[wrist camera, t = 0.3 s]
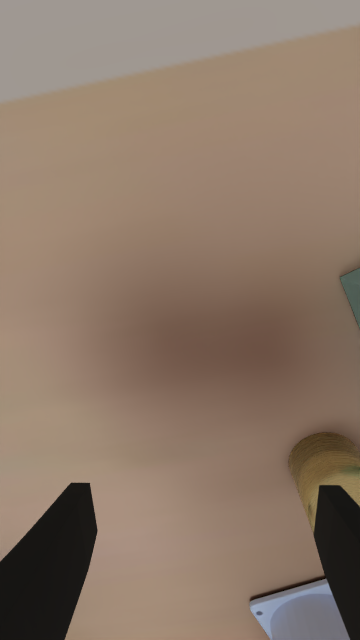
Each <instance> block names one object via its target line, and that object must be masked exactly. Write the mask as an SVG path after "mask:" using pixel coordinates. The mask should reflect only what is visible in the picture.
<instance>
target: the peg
mask: <svg viewBox="0 0 360 640" xmlns="http://www.w3.org/2000/svg"><path fill="white" fill-rule="evenodd" d="M289 468H290V471H291V474H292V477H293V479H294V482H295V485H296V488H297V490H298V493H299V496H300V498H301V501H302V504H303V506H304V509H305V512H306V515H307V517H308V520H309V523H310V525H311V528H312V531H313V533H314V526H315V518H316V509H317V500H318V492H319V485H340V486H341V487H342V488H343V489H344V490H345V491H346V492H347V493H348V494H349V495H350V496H351V497H352V499H353V500H354V501H355V502H356V503H357V504H358V505H359V506H360V453H359V451H358V450H357V448H356V447H355V445H354V444H353V443H352V442H351V441H350V440H349V439H347V438H346V437H344V436H342V435H339V434H335V433H318V434H314V435H311V436H308V437H306V438H305V439H303V440H301V441H300V442H299V443H298V444H297V445H296V446H295V447H294V448H293V450H292V451H291V454H290V457H289Z"/></svg>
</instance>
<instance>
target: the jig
mask: <svg viewBox="0 0 360 640" xmlns="http://www.w3.org/2000/svg"><path fill="white" fill-rule="evenodd" d="M340 280H341V282H342V285H343V287H344V290H345V292H346V295H347V297H348V300H349V302H350V305H351V308H352V310H353V313H354V315H355V318H356V320H357V323H358V325H359V328H360V268H358V269H356V270H354V271H352V272H350V273H348V274H346V275H344V276H342V277H340Z"/></svg>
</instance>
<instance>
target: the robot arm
mask: <svg viewBox="0 0 360 640" xmlns="http://www.w3.org/2000/svg"><path fill="white" fill-rule="evenodd" d="M96 535H97V525H96V519H95V512H94V506H93V500H92V494H91V488H90V483H71V484H70V485H69V486H68V487H67V488H66V489H65V490H64V491H63V492H62V494H61V495H60V496H59V497H58V498H57V499H56V501H55V502H54V503H53V504H52V505H51V506H50V508H49V509H48V510H47V511H46V512H45V513H44V514H43V516H42V517H41V518H40V519H39V520H38V521H37V522H36V524H35V525H34V526H33V527H32V528H31V529H30V530H29V531H28V532H27V534H26V535H25V536H24V537H23V538H22V539H21V540H20V541H19V542H18V544H17V545H16V546H15V547H14V548H13V549H12V550H11V551H10V552H9V553H8V554H7V555H6V556H5V557H4V558H3V559H2V560H1V561H0V640H65V637H66V634H67V631H68V628H69V625H70V622H71V619H72V616H73V613H74V610H75V608H76V605H77V602H78V599H79V596H80V593H81V590H82V587H83V584H84V581H85V578H86V575H87V572H88V569H89V565H90V561H91V557H92V553H93V548H94V544H95V540H96ZM314 538H315V542H316V546H317V549H318V553H319V557H320V560H321V563H322V567H323V570H324V574H325V576H326V579H323V580H320V581H316V582H313V583H310V584H306V585H303V586H299V587H296V588H292V589H289V590H286V591H282V592H279V593H275V594H272V595H268V596H265V597H262V598H258V599H255V600H252V601H251V602H250V610H251V612H252V613H253V614H254V616H255V617H256V619H257V620H258V622H259V623H260V625H261V626H262V628H263V629H264V630H265V632H266V633H267V635H268V636H269V638H270V639H271V640H360V506H359V505H358V504H357V503H356V502H355V501H354V500H353V499H352V497H351V496H350V495H349V494H348V493H347V492H346V491H345V490H344V489H343V488H342V487H341V486H340V485H319V492H318V500H317V509H316V518H315V526H314Z"/></svg>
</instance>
